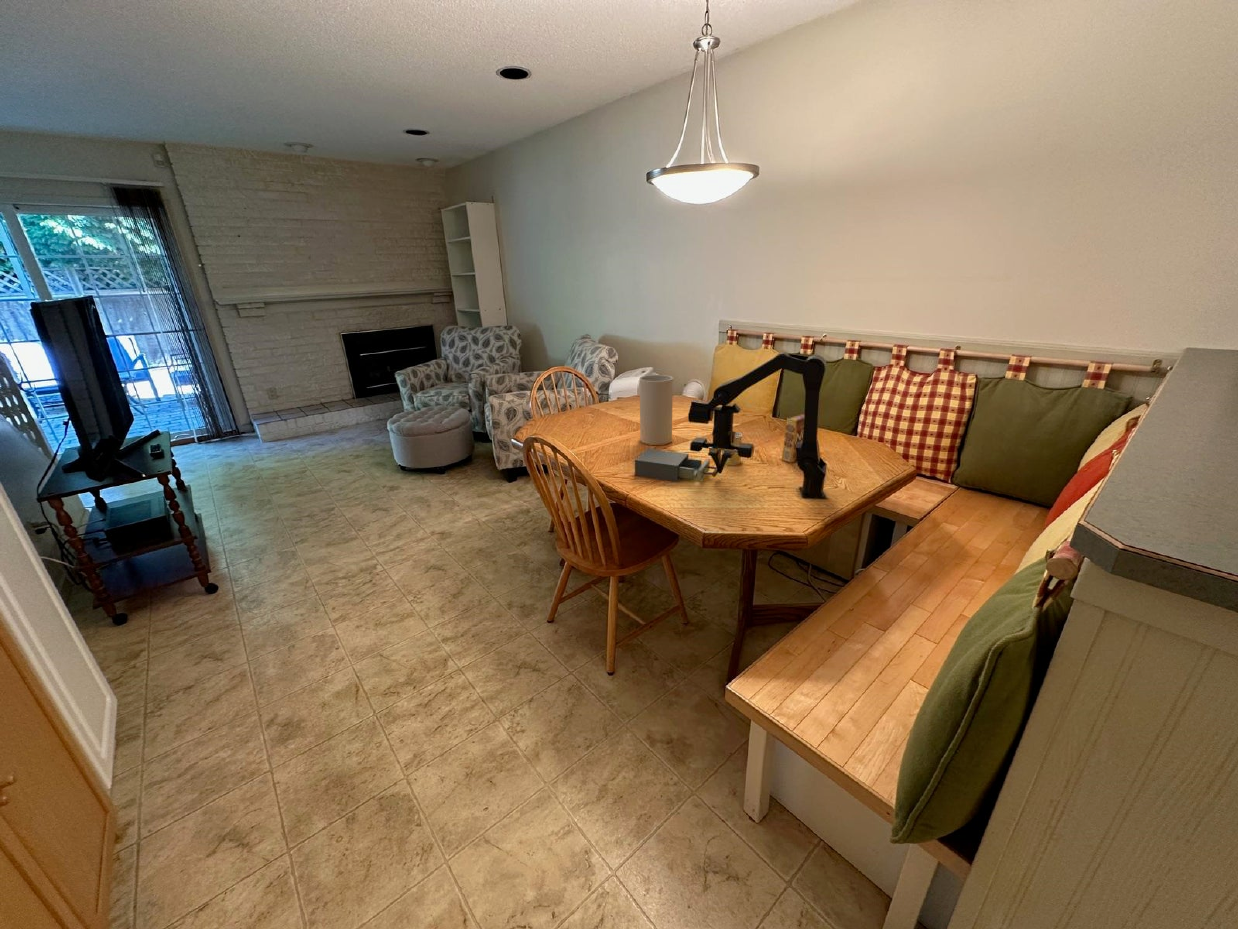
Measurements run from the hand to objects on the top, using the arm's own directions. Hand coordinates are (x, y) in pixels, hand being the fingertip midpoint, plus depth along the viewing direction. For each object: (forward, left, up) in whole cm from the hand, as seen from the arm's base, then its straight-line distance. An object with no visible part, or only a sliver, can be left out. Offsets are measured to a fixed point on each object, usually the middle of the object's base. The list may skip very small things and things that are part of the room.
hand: (720, 472), depth 150 cm
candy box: (+22, -26, -3) cm, 34 cm away
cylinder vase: (+38, +24, -3) cm, 45 cm away
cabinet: (+5, +19, -3) cm, 20 cm away
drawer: (+2, +9, -2) cm, 10 cm away
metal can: (+17, -4, -3) cm, 18 cm away
